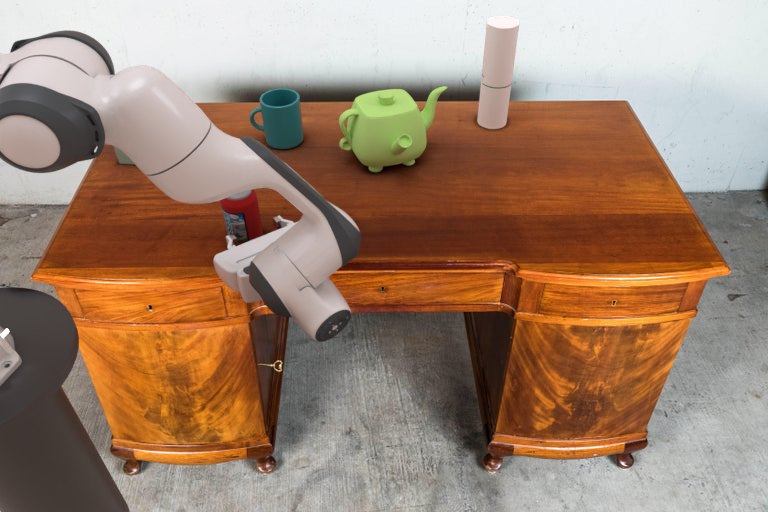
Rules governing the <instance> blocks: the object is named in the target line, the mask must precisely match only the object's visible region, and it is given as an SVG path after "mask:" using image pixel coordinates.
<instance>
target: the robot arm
mask: <svg viewBox="0 0 768 512" xmlns="http://www.w3.org/2000/svg"><path fill="white" fill-rule="evenodd" d="M9 51H10V52H8V53H2V52H0V159H1V160H2V161H3V162H4V163H6V164H7V165H9V166H11V167H13V168H16V169H17V170H20V171H23V172H27V173H34V174H48V173H54V172H57V171H61V170H64V169H66V168H68V167H70V166H73V165H75V164H77V163H79V162H84V161H89V160H93V159H95V158H98V157H99V156H100V155H101V154H102V152H103V150H104V147H105V145H108V146H112V147H113V148H114V147H116V148H118V149H119V150H121V151H122V152H123V153H124V154H126V155H127V156H128V157H129V158H130V159H131V160H132V162H133V163H134V164H135V165H134V164H133V165H134V166H136V168H137V169H139V170H140V171H141V173H142V174H143V175H144V176H145V177H146V178H147V179H148V180H149V181H150V182H151V183H152V184H153V185H154V186H155V187H156V188H158V190H160V191H161V192H162V193H163V194H164V195H166V196H167V197H169V198H170V199H171V200H173V201H175V202H179V203H183V204H188V205H204V204H211V203H217V202H219V201H220V200H222V199H225V198H227V197H230V196H233V195H235V194H238V193H241V192H244V191H248V190H252V189H253V190H256V189H257V190H258V189H271V190H273V191H275V192H277V193H278V194H279V195H281V196H282V197H283V198H284V199H285V200H286V201H288V202H289V203H290V204H291V205H292V206H294V207H295V208H296V209H297V210H298V211H299V212H301V213H302V215H301V217H300V218H299V220H298V221H295V222H294V221H293V220H289V219H285V218H283V217H282V216H281V215H280V214H279V215H276V216H274V217H271V218H272V224H273V226H274V227H275V228H276V230H273V231H271V232H268V233H265V234H263V236H261V237H258V238H256V239H253V240H251V241H248V242H246V243H243V244H241V245H238V242H237V238H236V236H234V234H230V235H228V234H227V235H225V241H226V244H227V245H226V246H227V248H226V249H225V250H224V251H221V252H219V253H218V252H217V253H216V254H215V255H214V257H213V261H212V262H213V267H214V270H215V273H216V274H217V276H218V277H219V279H220V280H221V281H222V282H223V283H224V284H225V285H226V286H227V287H228V289H230V290H232V291H233V292H235V293H239V294H240V296H241V299H242V300H243V302H244V303H246V304H250V303H251V304H252V303H256V302H261V301H263V303H264V304H265V306H266V307H267V308H268V309H269V310H270V312H272V313H273V314H274V315H276V316H280V317H284V318H291V319H292V320H293V321H294V322H295V323H296V325H297V326H298V327H299V328H300V329H301V330H302V331H303V332H304V333H305V334H306V335H308V336H309V337H310V338H311V339H312V340H314V341H315V342H317V343H322V342H323V343H324V342H326V341H329V340H332V339H333V338H335V337H336V336H337V335H338V334H340V333H341V332H342V331H343V330H344V329H345V328H347V326H348V324H349V323H350V321H351V318H352V310H351V308H350V307H351V306H349V304H348V302H347V301H346V299H345V298H344V296H343V294H342V293H341V291H340V290H339V289H338V287H337V286H336V285H335V284H334V282H333V281H332V280H331V279H330V277H331V276H332V275H333V274H334V273H336V272H337V271H338V270H339V269H340V268H343V267H344V266H346V265H347V264H349V263H350V262H352V261H353V260H354V259H356V258H357V257H358V256H359V253H360V250H361V244H362V233H361V231H360V228H359V227H358V224H357V223H356V222H355V220H354V219H353V218H352V217H351V216H350V215H349V214H348V213H347V212H345V211H344V210H343V209H341V208H340V207H338V206H337V205H336V204H333V203H331V202H330V201H329V200H327V199H326V198H324V196H323V195H322V194H321V193H320V192H319V191H317V190H316V188H314V187H313V186H312V185H311V184H310V183H309V182H308V181H306V180H305V179H304V177H302V176H301V175H300V174H299V173H298V172H296V171H295V170H294V169H293V168H292V167H291V166H289V164H288V163H286V162H285V161H284V160H282V159H281V158H280V157H279V156H277V155H276V154H275V153H274V152H273V151H272V150H271V149H269V148H268V147H267V146H266V145H264V144H263V143H262V142H260V141H259V140H257V139H256V138H253V137H251V136H242V137H235V136H233V135H231V134H228V133H226V132H224V131H222V130H221V129H220V128H218V127H217V125H215V124H214V123H213V121H212V120H211V119H210V118H209V117H208V116H207V115H206V113H205V112H204V111H203V110H202V108H200V106H198V104H197V103H196V102H195V101H194V99H192V98H191V97H190V96H189V95H188V94H187V93H186V92H185V91H184V90H183V89H182V88H180V86H179V85H177V84H176V83H175V82H174V81H173V80H172V79H170V77H168V76H167V75H166V74H165V73H163V72H162V71H161V70H160V69H159V68H156V67H154V66H150V65H144V64H139V65H133V66H129V67H126V68H124V69H122V70H120V71H118V72H117V73H116V71H115V65H114V63H113V60H112V57H111V56H110V54H109V53H110V52H108V50H107V49H106V47H105V46H104V45H103V44H102V43H100V42H99V40H97V39H95V38H94V37H92V36H90V35H88V34H87V33H85V32H82V31H78V30H66V29H65V30H57V31H52V32H48V33H45V34H42V35H39V36H35V37H30V38H29V37H28V38H24V39H19V40H15V41H14V43H12V46H11V48H10V50H9ZM237 245H238V246H237ZM21 363H22V359H21V357H20V356H19V355H18V354H17V352H16V351H15V345H14V339H13V337H12V335H11V334H10V333H9V330H8V329H3V328H2V327H1V326H0V386H1V385H2V384H3V383H4V382H5V381H6V379H7V378H8V377H9V376H10V375H11V374H12V373H13V372H14V371H15V370H16V369H17V368H18V367H19V366H20V365H21Z"/></svg>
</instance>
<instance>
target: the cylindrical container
mask: <svg viewBox="0 0 768 512" xmlns="http://www.w3.org/2000/svg"><path fill="white" fill-rule="evenodd" d="M519 31H520V20H519V19H518V18H516V17H514V16H510V15H503V14H501V15H500V14H499V15H493V16H490V17H489V18H487V20H486V26H485V35H484V48H483V56H482V57H483V58H482V68H481V77H480V88H479V99H478V110H477V119H476V122H477V124H478V125H479V126H480V127H482V128H485V129H488V130H497V129H502V128H504V127H505V126H506V125H507V123H508V122H507V121H508V114H509V106H510V98H511V92H512V91H511V90H512V84H513V75H514V67H515V60H516V53H517V45H518V37H519Z"/></svg>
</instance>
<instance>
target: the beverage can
mask: <svg viewBox="0 0 768 512" xmlns="http://www.w3.org/2000/svg"><path fill="white" fill-rule="evenodd" d="M219 201H220V206H221V211H222V216H223V220H224V224H225V229H226V233H227V236H228V235H230V234H234V236H236V238H237V242H238V245H241V244H243V243H246V242H248V241H251V240H253V239H256V238H258V237H261V236H263V235H264V230H263V223H262V219H261V218H262V217H261V212H260V208H259V200H258V196H257V192H256V191H255V189H252V190H248V191H244V192H241V193H238V194H235V195H233V196H230V197H227V198H225V199H222V200H219ZM238 245H237V246H238Z"/></svg>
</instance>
